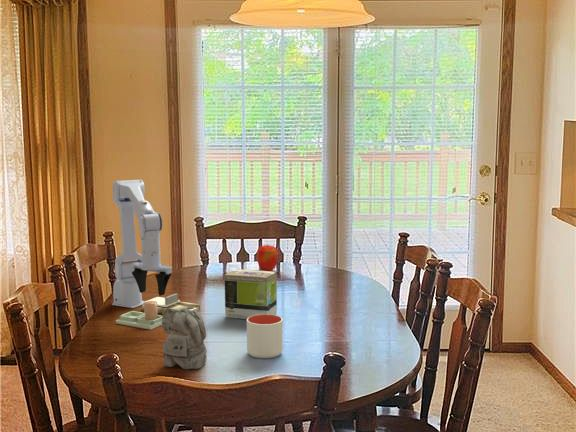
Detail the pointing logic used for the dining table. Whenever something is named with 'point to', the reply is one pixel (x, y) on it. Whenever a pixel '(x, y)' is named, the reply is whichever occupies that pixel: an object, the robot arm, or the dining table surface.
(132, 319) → the socket board
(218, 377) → the dining table surface
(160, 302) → the lid
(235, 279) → the tea box
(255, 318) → the cup
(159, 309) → the plate
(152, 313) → the peg
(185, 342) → the figurine
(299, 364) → the dining table surface
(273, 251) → the apple
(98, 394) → the dining table surface
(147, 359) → the dining table surface
